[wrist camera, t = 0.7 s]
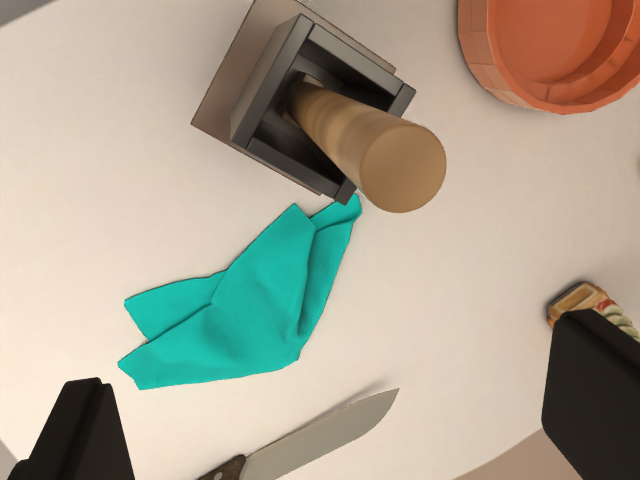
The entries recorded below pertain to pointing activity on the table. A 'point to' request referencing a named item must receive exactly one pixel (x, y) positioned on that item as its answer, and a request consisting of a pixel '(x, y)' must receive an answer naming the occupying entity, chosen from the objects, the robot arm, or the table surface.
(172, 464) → the table surface
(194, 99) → the table surface
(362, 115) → the stick
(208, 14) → the table surface
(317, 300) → the cloth
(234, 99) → the utensil stand
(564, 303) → the ornament
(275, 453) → the knife
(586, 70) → the bowl
